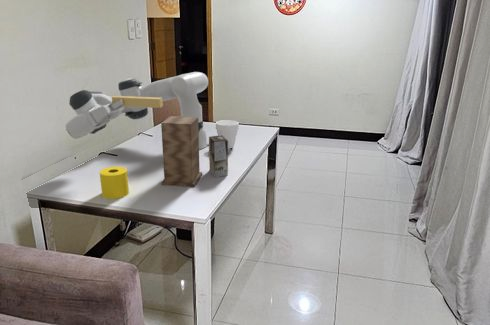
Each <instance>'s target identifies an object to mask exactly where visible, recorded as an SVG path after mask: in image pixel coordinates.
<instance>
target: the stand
mask: <svg viewBox="0 0 490 325" xmlns="http://www.w3.org/2000/svg"><path fill="white" fill-rule="evenodd" d="M160 124H161V126H160V128H161V143H162V146H161V147H162V160H163V162H162V163H163V175H164V176H163V180H161V182H160V183H161V186H174V187H175V186H176V187H190V188H195V187H196V185H197V184H198V182H199V181H200V179H201V178H202V176H203V172H202V171H200V149H199V130H198V117H181V116H173V115H171V116H169V117H167V118H165V120H163V121H162V122H161V123H160Z"/></svg>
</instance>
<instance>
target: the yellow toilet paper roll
mask: <svg viewBox="0 0 490 325" xmlns="http://www.w3.org/2000/svg"><path fill="white" fill-rule="evenodd" d="M128 176H129V175H128V169H127V168H126V167H124V166H108V167H105V168H103V169H101V170H100V171H99V179H100V180H99V181H100V188H101V195H102V197H103V198H104V199H110V200H116V199H121V198H124V197H127V196H128V195H129V194H130V189H129V179H128V178H129V177H128Z"/></svg>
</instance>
